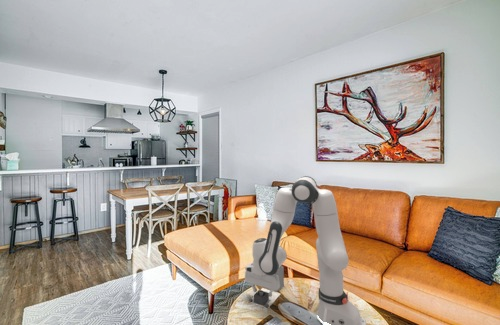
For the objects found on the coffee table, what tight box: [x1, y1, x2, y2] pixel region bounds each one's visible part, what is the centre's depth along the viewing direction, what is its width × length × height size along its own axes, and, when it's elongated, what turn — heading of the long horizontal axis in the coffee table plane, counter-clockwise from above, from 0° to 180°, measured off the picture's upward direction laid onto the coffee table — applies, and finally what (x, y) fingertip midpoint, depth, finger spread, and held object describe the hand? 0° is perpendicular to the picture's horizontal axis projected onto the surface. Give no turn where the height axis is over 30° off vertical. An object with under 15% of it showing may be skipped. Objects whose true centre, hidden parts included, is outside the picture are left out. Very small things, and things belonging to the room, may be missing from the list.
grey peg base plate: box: [247, 287, 282, 310], centre depth 140 cm, size 12×16×6 cm
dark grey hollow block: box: [253, 289, 269, 306], centre depth 137 cm, size 6×6×4 cm
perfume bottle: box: [276, 265, 285, 292], centre depth 151 cm, size 7×7×18 cm
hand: (262, 293), depth 137 cm, fingers open, 8 cm apart
